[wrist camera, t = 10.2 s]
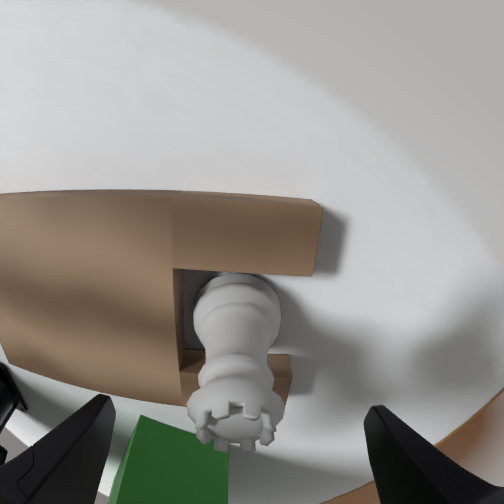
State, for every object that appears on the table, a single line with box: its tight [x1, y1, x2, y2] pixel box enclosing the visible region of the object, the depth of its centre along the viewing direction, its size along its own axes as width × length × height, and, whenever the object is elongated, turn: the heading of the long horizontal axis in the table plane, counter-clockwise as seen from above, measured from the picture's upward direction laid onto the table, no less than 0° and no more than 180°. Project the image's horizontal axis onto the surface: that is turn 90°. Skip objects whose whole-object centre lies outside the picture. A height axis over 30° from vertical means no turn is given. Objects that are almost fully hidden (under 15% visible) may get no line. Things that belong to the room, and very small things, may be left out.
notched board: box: [0, 190, 323, 407], centre depth 14 cm, size 12×20×2 cm, turn 86°
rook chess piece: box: [187, 273, 285, 453], centre depth 11 cm, size 4×4×8 cm
